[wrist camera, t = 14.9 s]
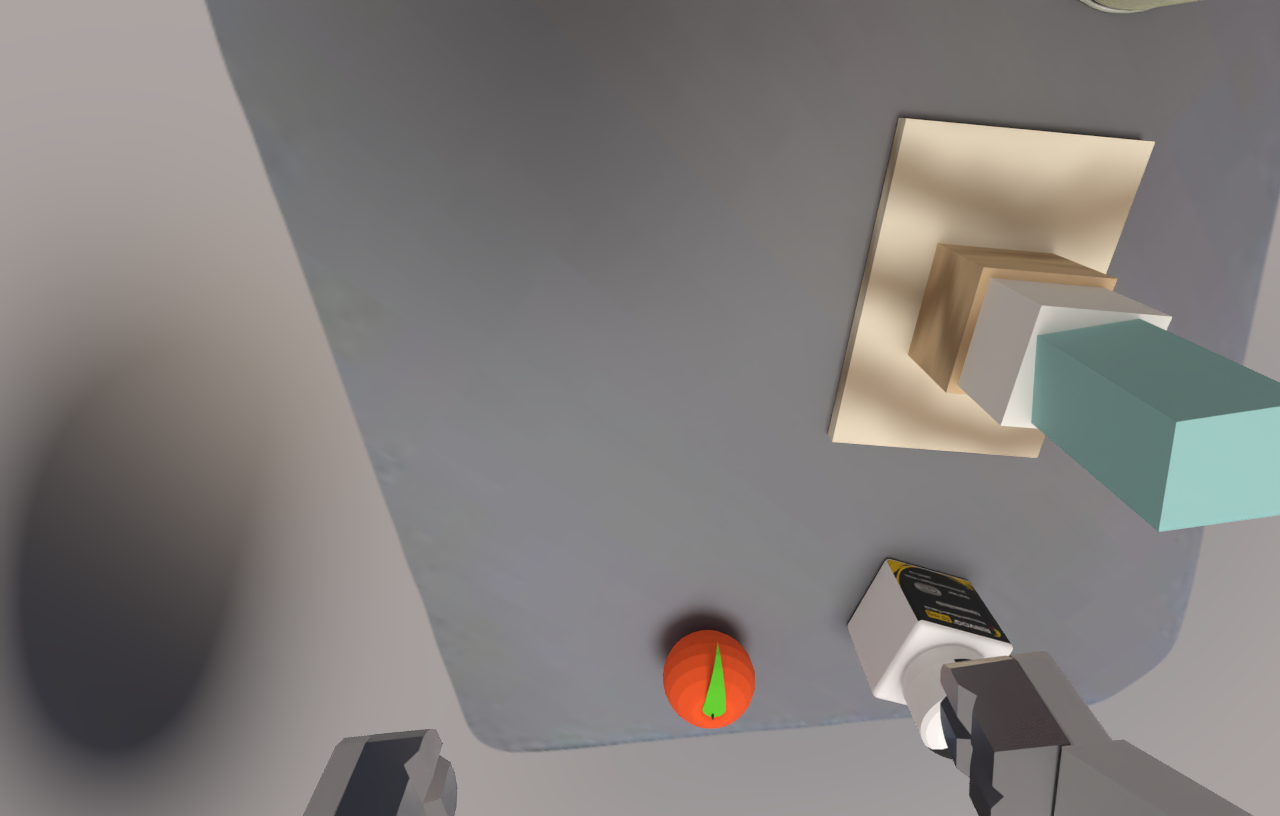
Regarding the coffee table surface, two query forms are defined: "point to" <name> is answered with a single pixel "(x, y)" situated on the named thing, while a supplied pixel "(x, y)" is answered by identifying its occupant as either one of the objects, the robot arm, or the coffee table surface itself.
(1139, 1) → the coffee can
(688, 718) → the clementine
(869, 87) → the coffee table surface
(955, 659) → the medicine bottle
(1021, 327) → the white block
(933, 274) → the oak block
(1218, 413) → the teal block
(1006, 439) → the birch board
